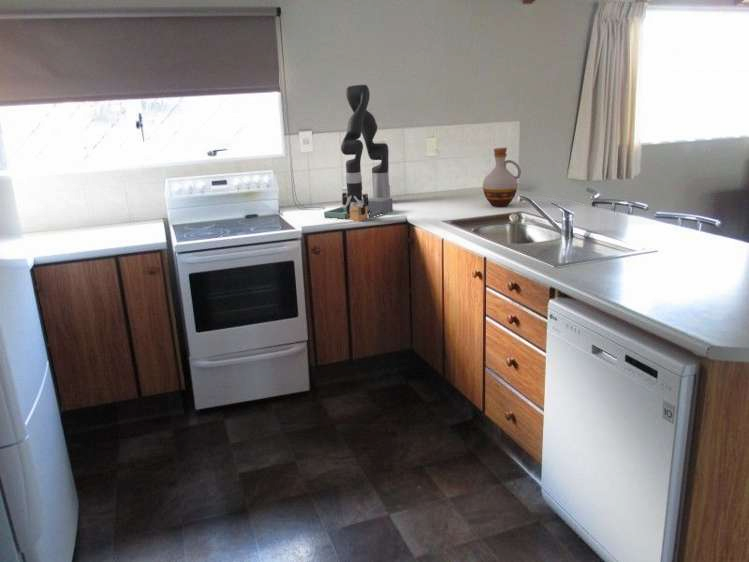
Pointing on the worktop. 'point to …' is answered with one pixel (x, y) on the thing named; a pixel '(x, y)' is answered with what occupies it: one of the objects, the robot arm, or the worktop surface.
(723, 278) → the worktop surface
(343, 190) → the supplement box
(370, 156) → the robot arm
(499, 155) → the jug
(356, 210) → the toner caddy
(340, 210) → the tray
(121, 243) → the worktop surface
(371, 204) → the printer bay
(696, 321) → the worktop surface
